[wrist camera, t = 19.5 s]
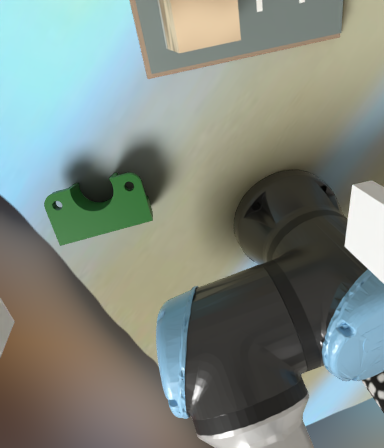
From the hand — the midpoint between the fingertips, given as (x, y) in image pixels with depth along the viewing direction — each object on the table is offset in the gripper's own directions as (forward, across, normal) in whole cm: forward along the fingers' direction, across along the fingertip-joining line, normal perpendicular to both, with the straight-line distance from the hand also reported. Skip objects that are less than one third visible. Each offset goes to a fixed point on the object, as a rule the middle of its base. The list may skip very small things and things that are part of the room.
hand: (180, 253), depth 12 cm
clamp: (+30, +7, +10) cm, 33 cm away
